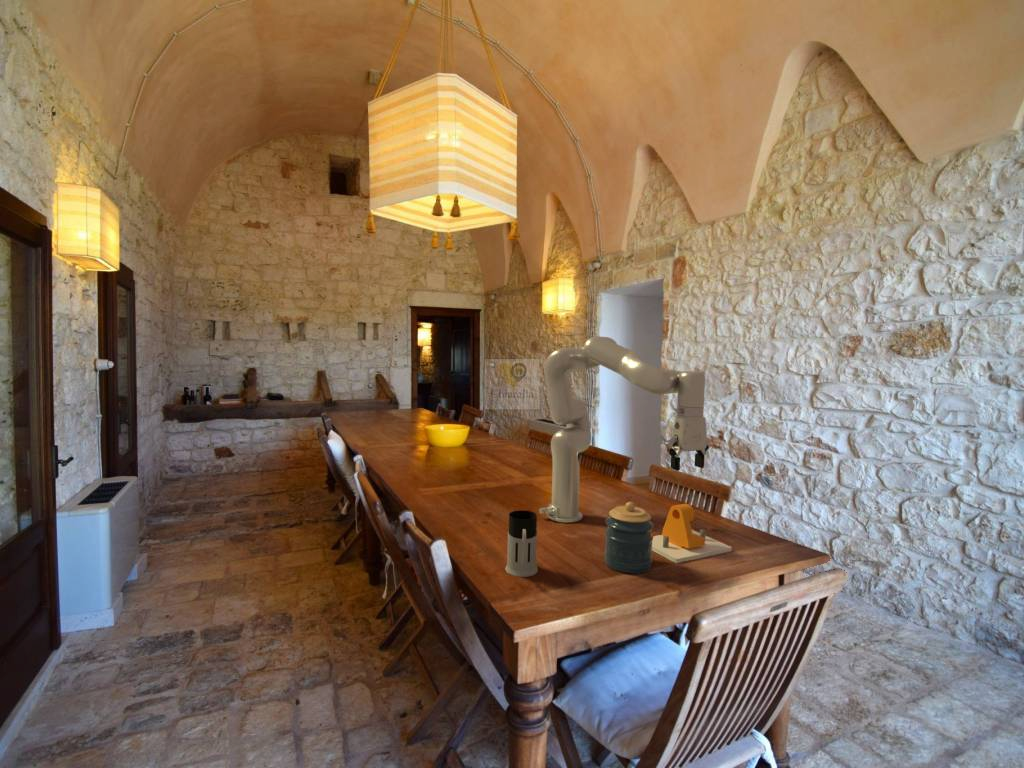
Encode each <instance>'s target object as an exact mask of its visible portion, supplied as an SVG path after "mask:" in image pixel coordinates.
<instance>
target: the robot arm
mask: <svg viewBox="0 0 1024 768" xmlns="http://www.w3.org/2000/svg"><path fill="white" fill-rule="evenodd" d="M598 366H602V367H604V368H606V369H608V370H609V371H612V372H613V373H617V374H618V375H620V376H621V377H623V378H624V379H625V380H627V381H628V382H629V383H631V384H632V385H634V386H636V387H639V388H640V389H643V390H645V391H647V392H649V393H651V394H654V395H658V396H659V395H660V396H662V395H669V394H670V395H671V394H677V399H676V400H677V404H676V405H677V406H676V409H675V413H676V416H675V418H674V422H673V428H672V435H671V438H669V439H668V440H666V442H665V443H664V445H665V448H666V451H667V453H668V454H669V457H670V469H671V470H672V471H680V468H681V457H680V455H681V454H682V452H694V451H696V453H694V467H697V468H700V469H704V468H705V456H706V455H707V452H708V450H709V448H710V447H709V446H710V444H711V442H712V440H711V439H710V438H708V435H707V433H708V431H707V422H706V417H704V413H705V412H704V410H705V409H704V407H705V392H706V391H705V389H706V375H705V373H704V372H702V371H694V370H693V371H691V370H686V371H685V370H684V371H682V370H681V371H680V370H676V369H675V370H674V369H669V368H668V369H660V368H657V367H655V366H653V365H651V364H648V363H646V362H645V361H643V360H641V359H640V358H638V357H637V355H636V353H635V352H634V350H630V349H629V348H627V347H624V346H622V345H619V344H618V343H617V342H616V341H615V339H613V338H611V337H608V336H600V335H598V336H591V337H589V338H588V339H587V340H586V341H585V342H584V345H583V346H582V347H578V348H576V347H575V348H574V347H561V348H558V349H555V350H554V351H552V352H551V353H550V354H549V355H548V357H547V358H546V359H545V363H544V367H543V373H544V379H545V384H546V389H547V398H548V405H549V411H550V417H551V421H553V423H554V424H556V425H559V426H566V427H565V428H562V429H560V430H558V431H556V432H555V433H554V434H553V436H552V437H551V439H550V452H551V458H552V459H551V460H552V461H551V462H552V469H551V471H552V475H551V477H552V478H551V479H552V483H551V503H548V506H547V507H540V508H539V509H538V511H539V514H540V515H541V514H546V516H547V518H548V519H549V520H552V521H554V522H558V523H567V524H568V523H576V522H580V521H582V519H583V513H582V512H581V511H579V500H580V496H579V495H580V493H579V492H580V462H579V457H578V454H579V453H583V452H585V451H586V450H588V449H589V447H590V446H591V443H592V432H591V425H590V424H591V423H590V419H589V418H590V417H589V411H588V408H587V405H586V404H585V402H584V401H583V400H582V399H581V398H580V397H577V396H573V392H572V386H571V382H570V379H569V378H568V373H579V372H584V371H585V372H586V371H587V370H590V369H592V368H596V367H598Z"/></svg>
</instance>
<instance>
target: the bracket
mask: <svg viewBox="0 0 1024 768" xmlns="http://www.w3.org/2000/svg"><path fill="white" fill-rule="evenodd" d="M694 519H695V510H694V508H693V507H692V506H691V505H690V504H688V503H682V504H676V505H672V506H671V507H670V508H669V511H668V514H667V516H666V520H665V523H664V524H663V528H662V530H661V531H662V533H661V535H662V536H668V537H669V542H670V543H672V544H674V545H676V546H678V547H680V548H685V547H686V548H688V549H690V548H694V547H699V546H704V545H705V538H703V537H701V536H699V535H697V534H694V533H692V530H693V529H692V526H691V522H692V521H693V520H694ZM691 529H692V530H691Z"/></svg>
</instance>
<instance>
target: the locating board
mask: <svg viewBox="0 0 1024 768" xmlns="http://www.w3.org/2000/svg"><path fill="white" fill-rule="evenodd" d="M691 530H692V533H694V534H697V535H699V536H701V537H703V538H705V545H704V546H699V547H694V548H690V549H688V548H686V547H685V548H680V547H678V546H676V545H674V544H672V543H670V542H669V537H668V536H662V534H660V535H659V534H658V535H654V536H653V540H652V552H655V553H657V554H659V555H660V556H661V557H664V558H666V559H667V560H669V561H671V562H672V563H674V562H675V564H679V563H685V562H689V560H690V561H693V560H698V559H702V558H703V559H704V558H707V557H712V556H717V555H720V554H726V553H731V552H732V551H733V547H732V546H729V545H727V544H725V543H723V542H720V541H718V540H716V539H714V538H712V537H710V536H707V535H706V533H707V532H706V531H707V530H706V529H703V528H702V529H700V530H699V532H698V531H696V530H694V529H692V528H691ZM684 561H685V562H684Z"/></svg>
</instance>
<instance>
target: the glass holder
mask: <svg viewBox="0 0 1024 768" xmlns="http://www.w3.org/2000/svg"><path fill="white" fill-rule="evenodd" d="M537 521H538V515H537V513H536V512H534V511H531V510H520V509H519V510H514V511H511V512H509V513H508V529H507V554H506V555H507V556H506V557H507V558H506V559H507V561H506V566H505V568H504V570H505V572H506V573H507V574H509V575H510V574H511V576H513V575H514V577H518V576H519V578H527V577H531V576H534V575H535V574H537V573H538V566H537V555H538V554H537V550H538V549H537V546H538V530H537V527H538V526H537V525H538V522H537Z"/></svg>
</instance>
